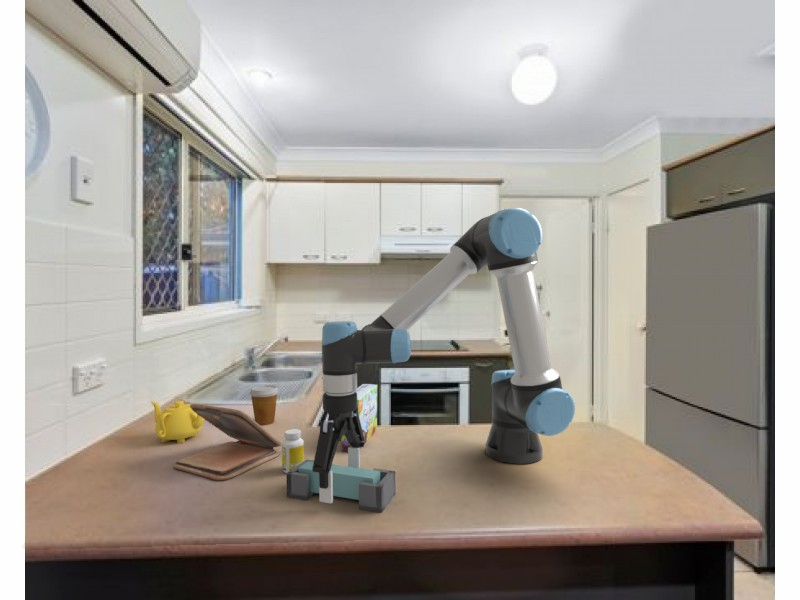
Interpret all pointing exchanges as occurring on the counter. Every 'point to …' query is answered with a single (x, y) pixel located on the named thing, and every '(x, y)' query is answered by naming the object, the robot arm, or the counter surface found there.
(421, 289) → the robot arm
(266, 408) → the disposable coffee cup
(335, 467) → the teal rectangular bar
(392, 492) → the end cap near
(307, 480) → the end cap far
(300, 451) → the supplement bottle
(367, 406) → the snack box
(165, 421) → the teapot
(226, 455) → the case
